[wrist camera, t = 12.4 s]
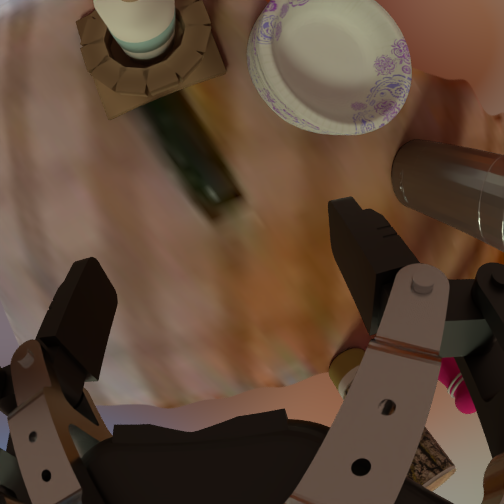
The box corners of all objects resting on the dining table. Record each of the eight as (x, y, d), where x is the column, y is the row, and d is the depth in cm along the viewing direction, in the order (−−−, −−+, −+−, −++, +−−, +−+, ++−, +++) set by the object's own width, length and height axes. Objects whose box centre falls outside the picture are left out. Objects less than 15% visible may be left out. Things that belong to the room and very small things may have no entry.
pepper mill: (436, 319, 47) (511, 385, 29) (424, 351, 50) (488, 419, 31) (408, 325, 45) (486, 402, 27) (395, 359, 48) (462, 436, 30)
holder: (188, -19, 22) (190, -37, 18) (225, 74, 27) (231, 65, 23) (78, 24, 21) (66, 12, 17) (110, 120, 26) (100, 118, 22)
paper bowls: (255, -11, 24) (277, -44, 16) (377, 34, 28) (419, 20, 21) (225, 116, 28) (240, 110, 21) (357, 148, 33) (400, 156, 25)
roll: (167, 11, 22) (164, -51, 11) (182, 53, 24) (185, 5, 13) (117, 30, 22) (85, -22, 11) (131, 72, 24) (102, 36, 13)
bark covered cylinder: (327, 353, 43) (417, 490, 20) (367, 340, 44) (465, 459, 21) (326, 383, 46) (400, 510, 23) (362, 371, 47) (444, 483, 24)
